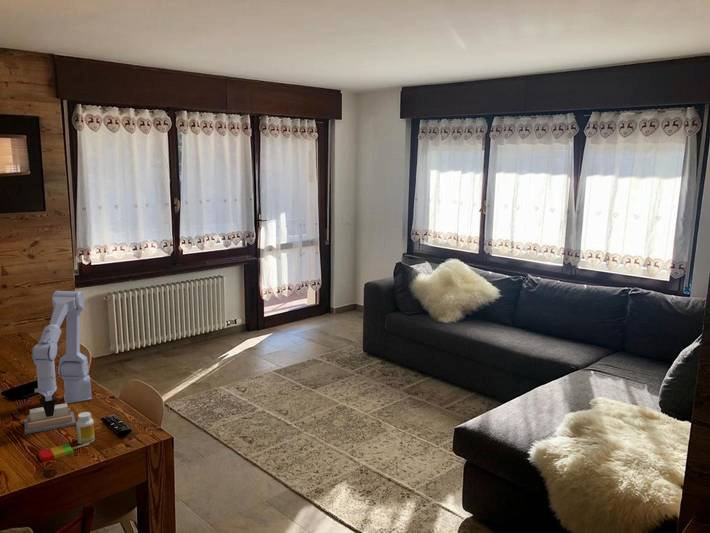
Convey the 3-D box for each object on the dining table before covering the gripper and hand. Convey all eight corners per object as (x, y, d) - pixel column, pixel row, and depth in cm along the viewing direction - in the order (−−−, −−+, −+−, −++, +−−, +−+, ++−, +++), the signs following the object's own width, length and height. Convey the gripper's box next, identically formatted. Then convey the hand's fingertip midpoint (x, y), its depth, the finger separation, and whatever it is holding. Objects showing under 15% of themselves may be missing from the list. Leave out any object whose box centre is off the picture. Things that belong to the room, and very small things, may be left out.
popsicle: (38, 456, 190) (37, 451, 189) (86, 442, 199) (86, 437, 199) (42, 463, 186) (41, 458, 185) (91, 449, 195) (91, 444, 195)
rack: (73, 413, 219) (72, 406, 218) (75, 424, 210) (75, 417, 210) (24, 422, 211) (23, 414, 210) (25, 434, 203) (24, 426, 202)
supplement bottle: (98, 438, 201) (96, 412, 199) (86, 445, 196) (84, 419, 194) (85, 435, 203) (84, 409, 201) (73, 442, 198) (71, 416, 196)
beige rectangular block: (67, 415, 215) (66, 403, 214) (68, 419, 212) (67, 406, 211) (30, 422, 209) (29, 409, 208) (30, 426, 206) (29, 413, 205)
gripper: (32, 371, 211) (35, 406, 214) (34, 385, 199) (37, 422, 202) (54, 368, 215) (57, 402, 217) (57, 382, 203) (60, 418, 205)
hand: (49, 411), depth 210 cm, fingers open, 7 cm apart
